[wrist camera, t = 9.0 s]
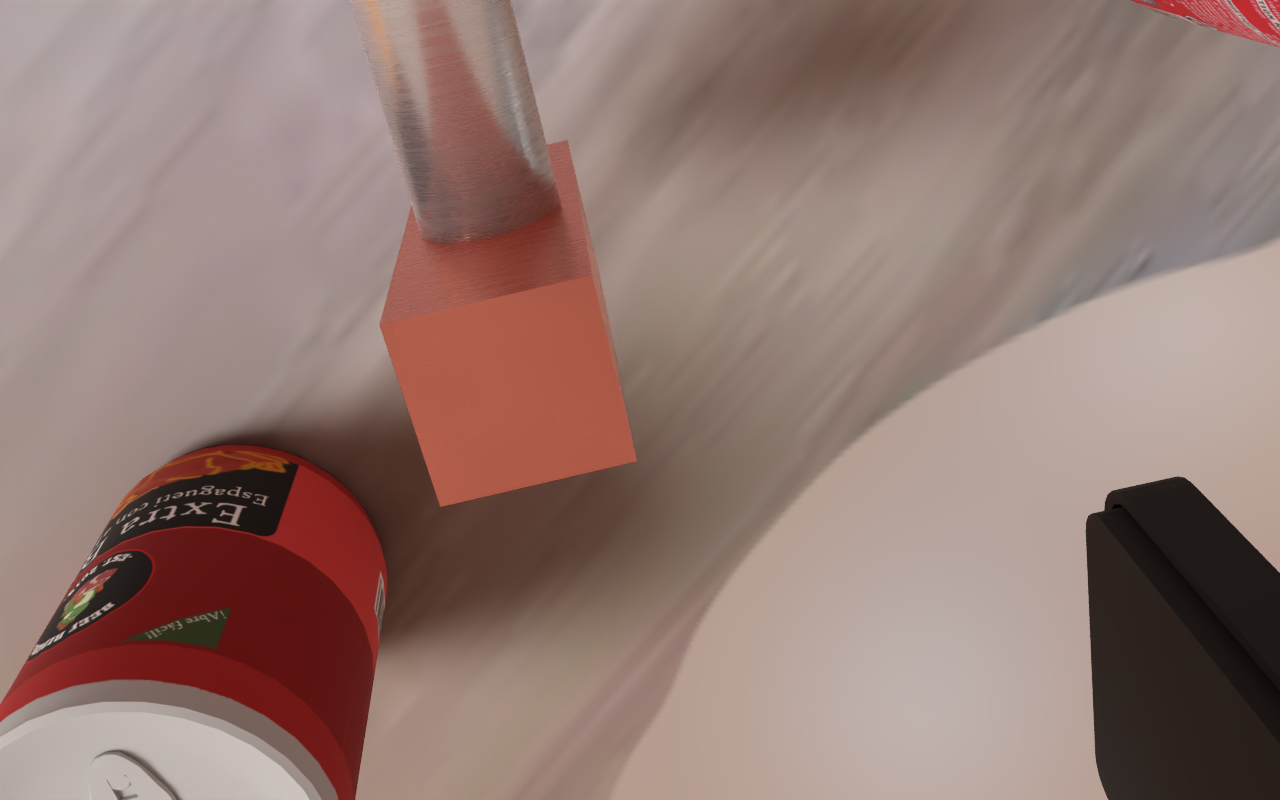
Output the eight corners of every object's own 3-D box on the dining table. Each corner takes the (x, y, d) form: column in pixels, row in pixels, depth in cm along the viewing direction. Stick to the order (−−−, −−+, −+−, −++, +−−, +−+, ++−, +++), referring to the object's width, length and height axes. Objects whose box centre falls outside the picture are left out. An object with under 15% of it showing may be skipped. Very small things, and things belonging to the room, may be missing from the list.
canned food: (282, 386, 32) (177, 637, 22) (445, 596, 35) (420, 897, 25) (49, 517, 33) (-153, 815, 23) (230, 710, 36) (123, 1042, 26)
